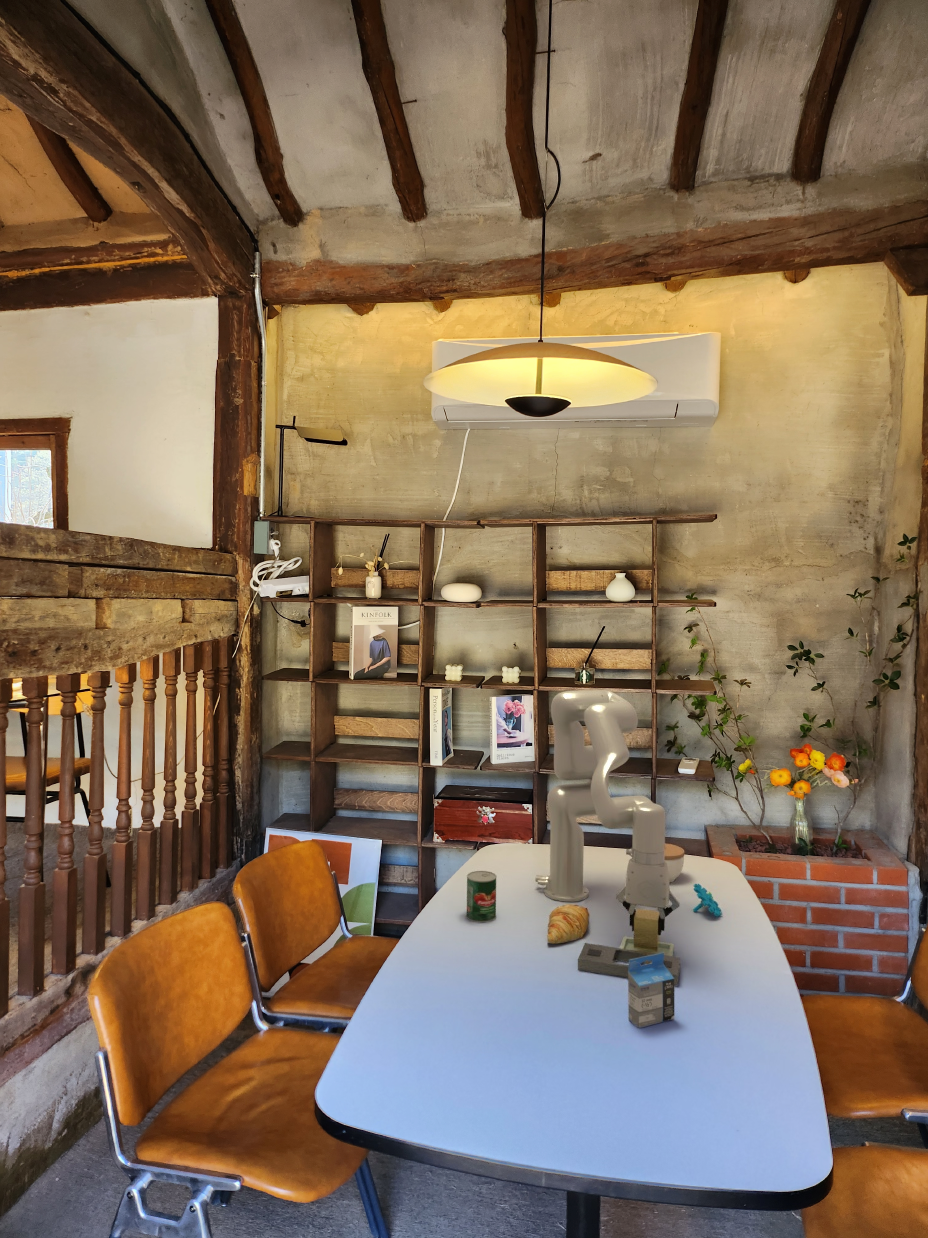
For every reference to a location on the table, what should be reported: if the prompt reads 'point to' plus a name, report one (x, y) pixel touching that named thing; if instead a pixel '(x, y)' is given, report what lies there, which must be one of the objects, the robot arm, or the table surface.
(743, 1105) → the table surface
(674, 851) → the lidded bowl
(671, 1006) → the label tape box
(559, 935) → the croissant
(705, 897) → the gear
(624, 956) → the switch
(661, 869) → the robot arm
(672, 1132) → the table surface
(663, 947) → the tray
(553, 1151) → the table surface
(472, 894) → the canned tomato
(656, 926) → the wooden block
